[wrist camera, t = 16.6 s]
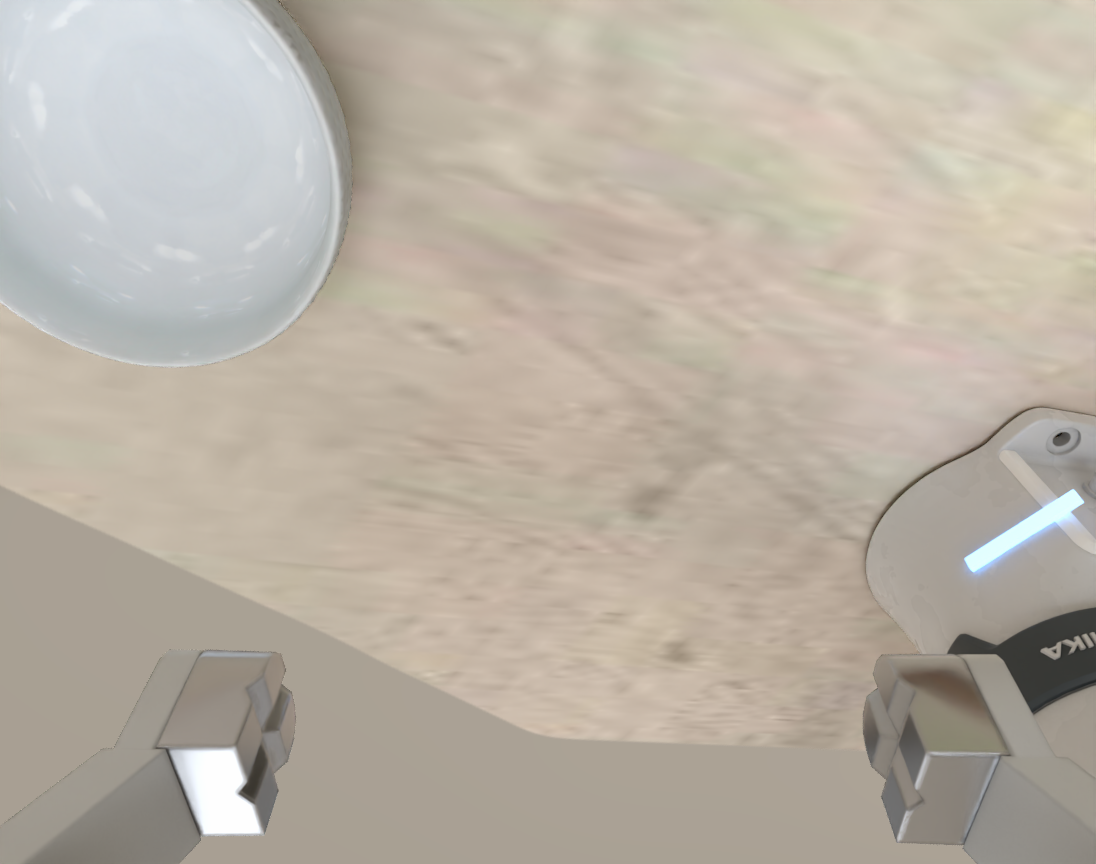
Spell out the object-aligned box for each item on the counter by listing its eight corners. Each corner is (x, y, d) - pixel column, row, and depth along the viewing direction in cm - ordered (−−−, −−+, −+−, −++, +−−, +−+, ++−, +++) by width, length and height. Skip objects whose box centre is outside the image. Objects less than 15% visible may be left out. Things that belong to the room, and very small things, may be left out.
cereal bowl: (427, 257, 42) (403, 324, 36) (114, 332, 44) (44, 406, 39) (281, -161, 33) (217, -164, 27) (-100, -36, 36) (-234, -14, 30)
